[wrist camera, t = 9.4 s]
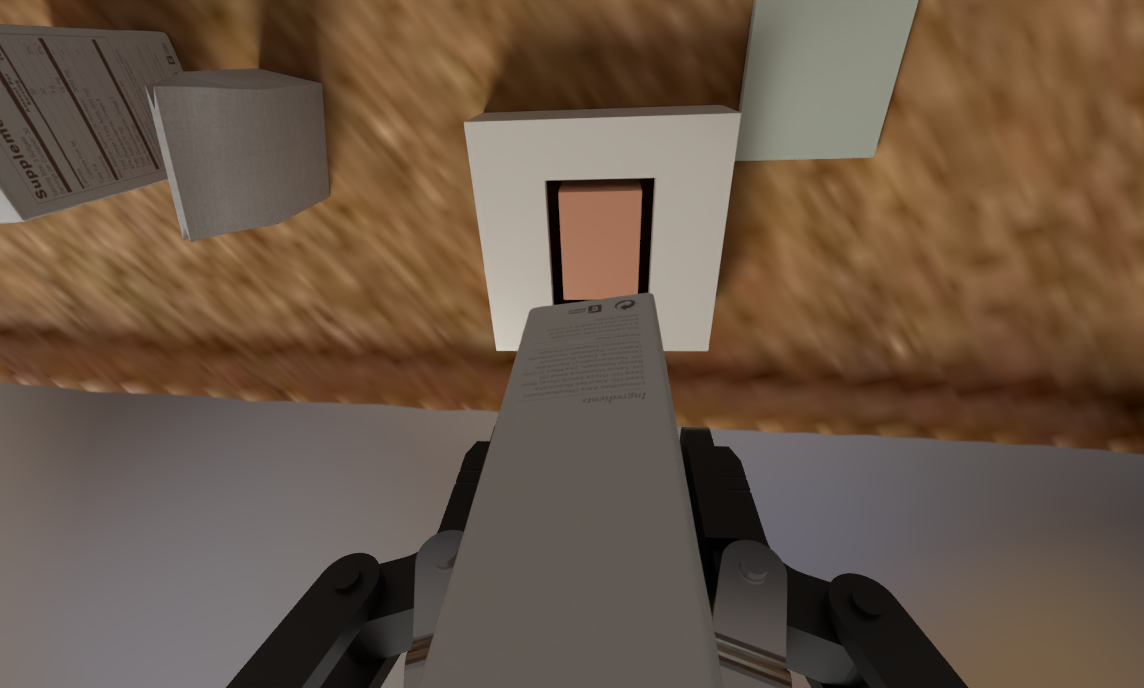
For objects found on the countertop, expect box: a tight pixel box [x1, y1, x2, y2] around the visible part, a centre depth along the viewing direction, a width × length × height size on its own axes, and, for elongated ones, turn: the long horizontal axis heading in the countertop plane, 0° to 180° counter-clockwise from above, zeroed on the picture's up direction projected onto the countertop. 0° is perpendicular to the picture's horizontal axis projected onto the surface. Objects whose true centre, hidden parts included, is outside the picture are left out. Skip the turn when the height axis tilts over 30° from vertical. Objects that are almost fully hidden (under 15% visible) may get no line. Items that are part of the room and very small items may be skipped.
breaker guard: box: [464, 105, 741, 351], centre depth 29 cm, size 14×14×4 cm
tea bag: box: [145, 69, 330, 242], centre depth 25 cm, size 4×7×10 cm, turn 168°
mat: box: [735, 0, 919, 161], centre depth 26 cm, size 8×8×1 cm
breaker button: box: [558, 178, 642, 300], centre depth 29 cm, size 5×7×4 cm
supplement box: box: [0, 24, 184, 223], centre depth 23 cm, size 7×7×13 cm
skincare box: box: [418, 293, 723, 688], centre depth 12 cm, size 6×4×12 cm
